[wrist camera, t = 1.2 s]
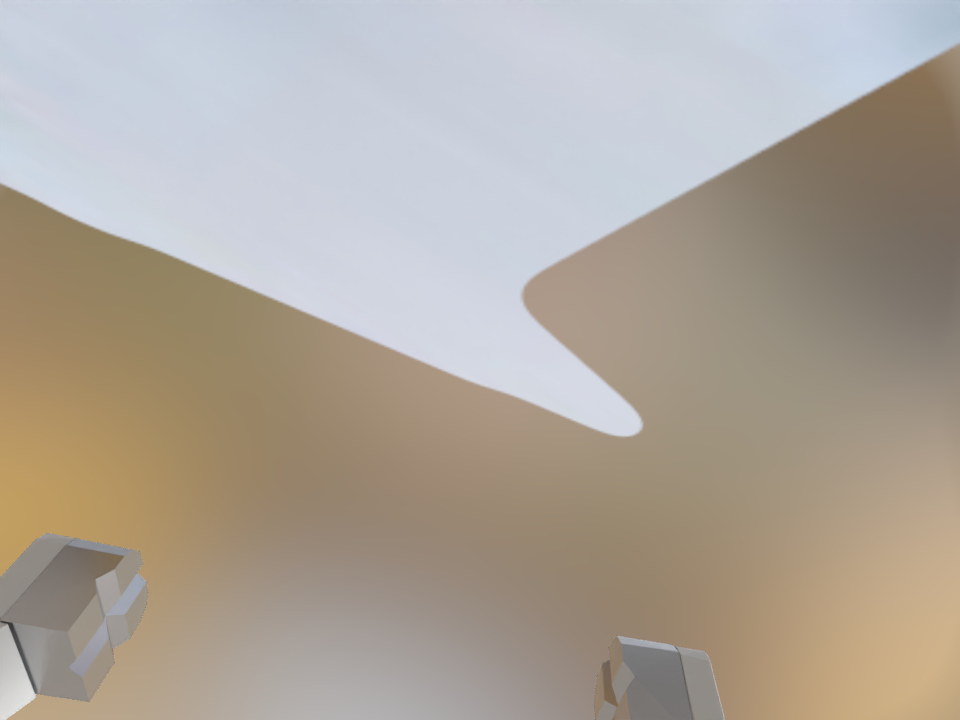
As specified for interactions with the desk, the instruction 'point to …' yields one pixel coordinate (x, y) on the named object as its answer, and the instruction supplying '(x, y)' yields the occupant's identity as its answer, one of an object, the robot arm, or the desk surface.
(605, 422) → the desk surface
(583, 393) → the desk surface
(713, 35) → the desk surface
